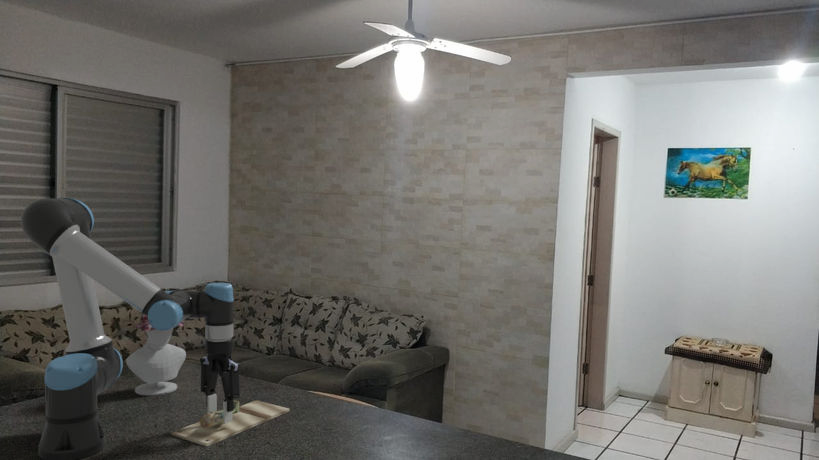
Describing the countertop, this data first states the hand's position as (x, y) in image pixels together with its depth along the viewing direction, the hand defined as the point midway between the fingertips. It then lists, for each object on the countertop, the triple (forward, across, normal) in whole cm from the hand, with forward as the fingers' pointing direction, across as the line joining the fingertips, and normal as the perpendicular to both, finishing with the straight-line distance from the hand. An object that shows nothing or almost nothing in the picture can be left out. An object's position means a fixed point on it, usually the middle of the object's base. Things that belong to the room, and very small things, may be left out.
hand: (219, 419), depth 178 cm
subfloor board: (+2, 0, -5) cm, 6 cm away
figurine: (+1, 0, 0) cm, 1 cm away
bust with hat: (+3, +42, -12) cm, 44 cm away
